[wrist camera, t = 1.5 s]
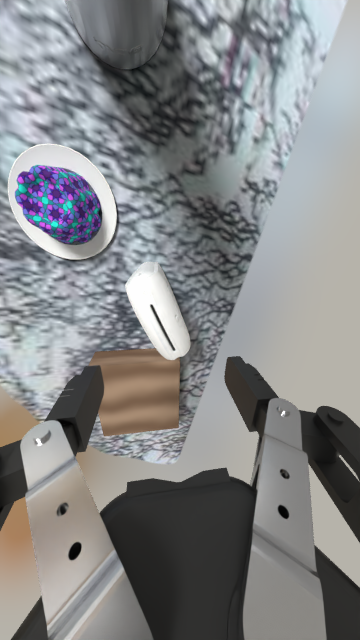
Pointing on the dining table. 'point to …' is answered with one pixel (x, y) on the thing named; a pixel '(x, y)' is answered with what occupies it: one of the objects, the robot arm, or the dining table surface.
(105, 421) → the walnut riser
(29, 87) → the dining table surface
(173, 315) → the photo printer
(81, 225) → the pudding
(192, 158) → the dining table surface
